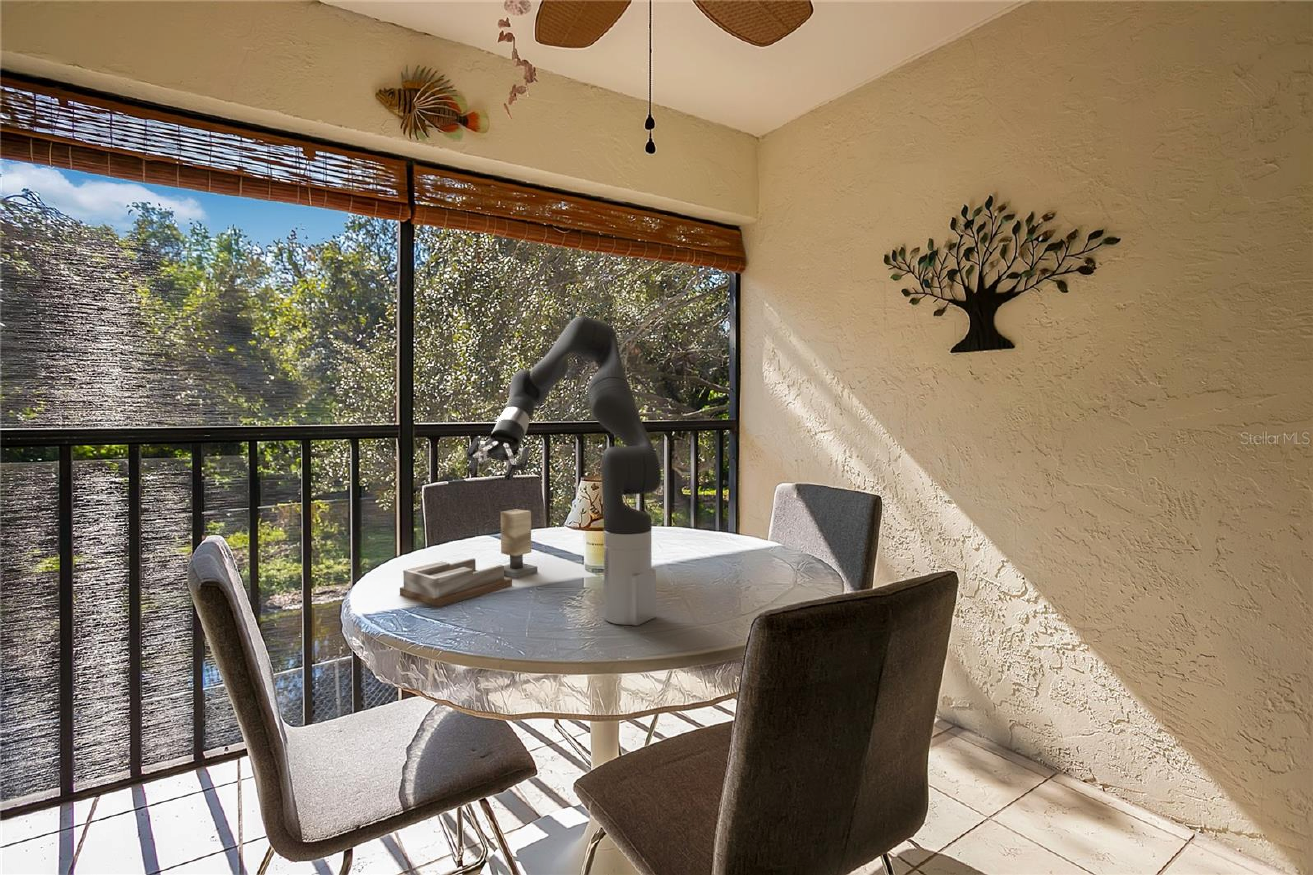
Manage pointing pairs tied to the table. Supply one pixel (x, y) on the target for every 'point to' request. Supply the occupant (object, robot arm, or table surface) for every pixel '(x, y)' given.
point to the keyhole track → (451, 582)
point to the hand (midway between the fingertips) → (488, 476)
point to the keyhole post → (516, 542)
